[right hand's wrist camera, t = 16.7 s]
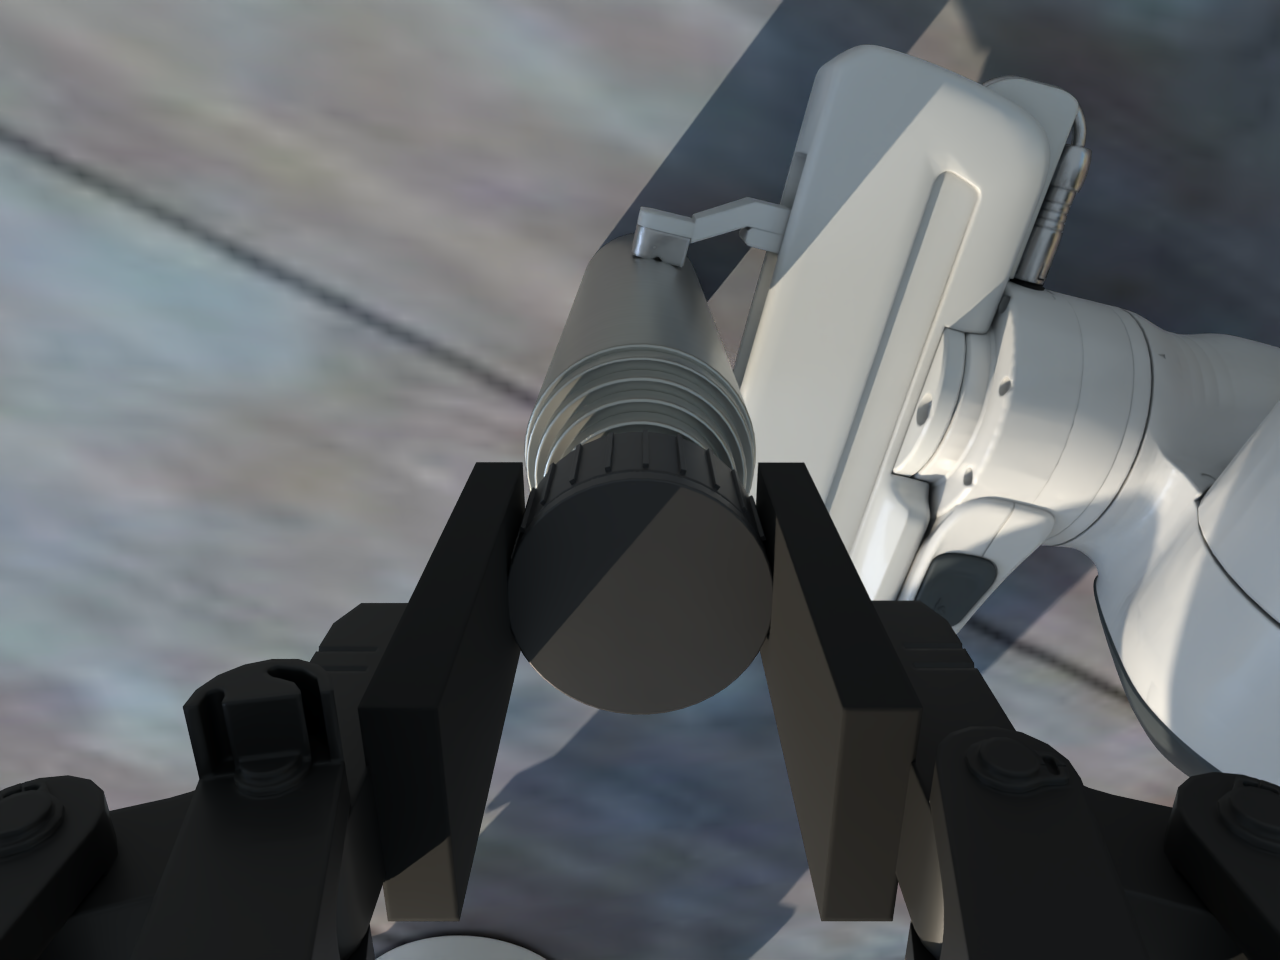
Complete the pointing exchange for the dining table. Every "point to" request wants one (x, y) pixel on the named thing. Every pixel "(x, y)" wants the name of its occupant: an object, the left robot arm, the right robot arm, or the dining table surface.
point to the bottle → (639, 367)
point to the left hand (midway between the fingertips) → (614, 321)
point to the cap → (640, 575)
